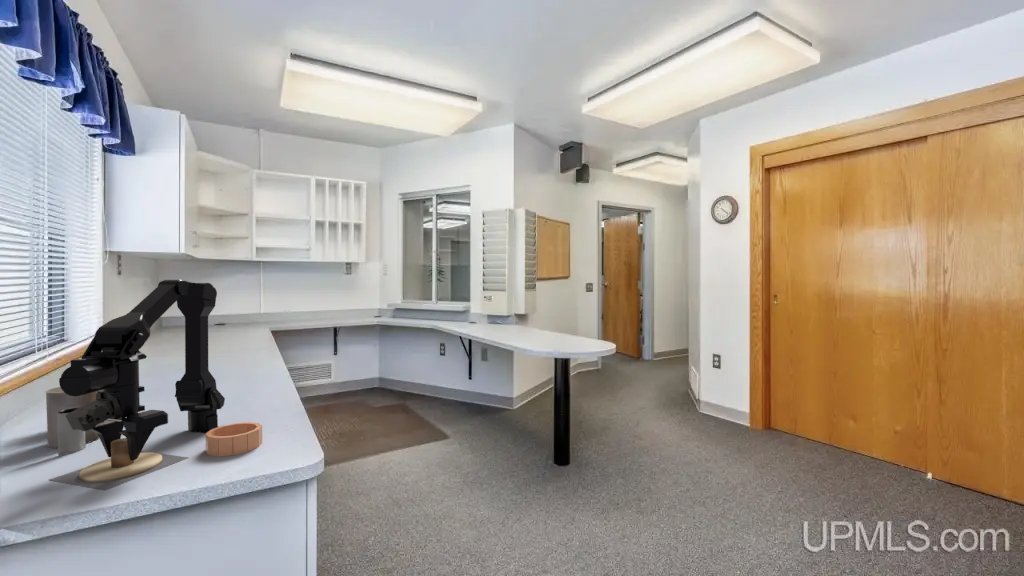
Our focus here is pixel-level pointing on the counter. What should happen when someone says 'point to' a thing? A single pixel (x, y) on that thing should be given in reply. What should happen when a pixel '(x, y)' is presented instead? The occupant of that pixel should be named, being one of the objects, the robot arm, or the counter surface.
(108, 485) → the mat
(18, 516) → the counter surface
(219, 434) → the bowl
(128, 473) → the lid
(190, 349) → the robot arm
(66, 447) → the planter
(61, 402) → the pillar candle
